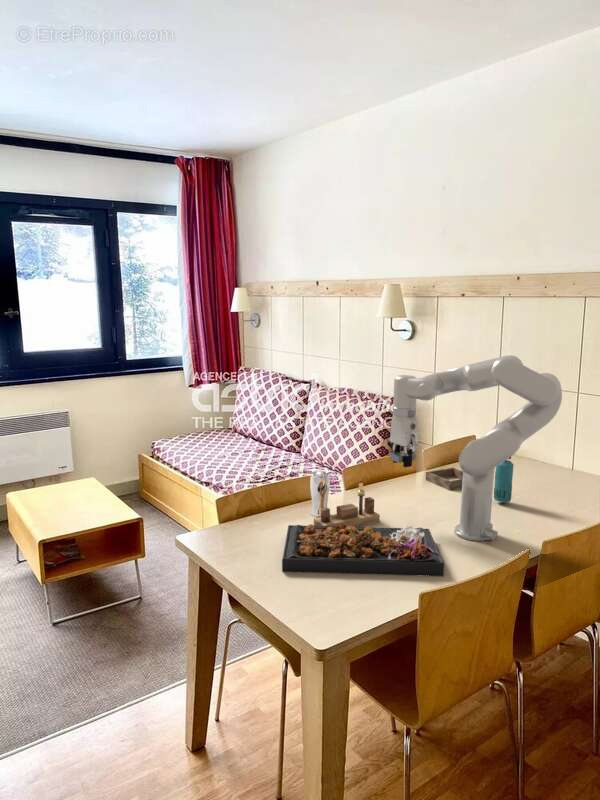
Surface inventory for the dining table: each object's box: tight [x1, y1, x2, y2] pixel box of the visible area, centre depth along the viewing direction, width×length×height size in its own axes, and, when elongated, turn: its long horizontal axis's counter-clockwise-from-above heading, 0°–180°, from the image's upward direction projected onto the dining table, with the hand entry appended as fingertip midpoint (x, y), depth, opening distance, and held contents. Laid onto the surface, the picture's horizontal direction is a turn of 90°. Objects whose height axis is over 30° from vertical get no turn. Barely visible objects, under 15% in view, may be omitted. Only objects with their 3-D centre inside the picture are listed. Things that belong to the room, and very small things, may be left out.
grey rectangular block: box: [389, 450, 416, 464], centre depth 198 cm, size 5×7×3 cm
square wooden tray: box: [425, 467, 463, 491], centre depth 244 cm, size 15×15×4 cm
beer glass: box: [309, 470, 331, 518], centre depth 206 cm, size 7×7×15 cm
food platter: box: [281, 523, 445, 577], centre depth 174 cm, size 45×25×10 cm, turn 87°
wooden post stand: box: [313, 496, 381, 527], centre depth 198 cm, size 7×22×9 cm, turn 117°
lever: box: [357, 482, 366, 497], centre depth 203 cm, size 2×10×2 cm, turn 175°
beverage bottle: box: [493, 456, 515, 503], centre depth 218 cm, size 6×7×20 cm
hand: (402, 464), depth 198 cm, fingers closed on grey rectangular block, 5 cm apart
